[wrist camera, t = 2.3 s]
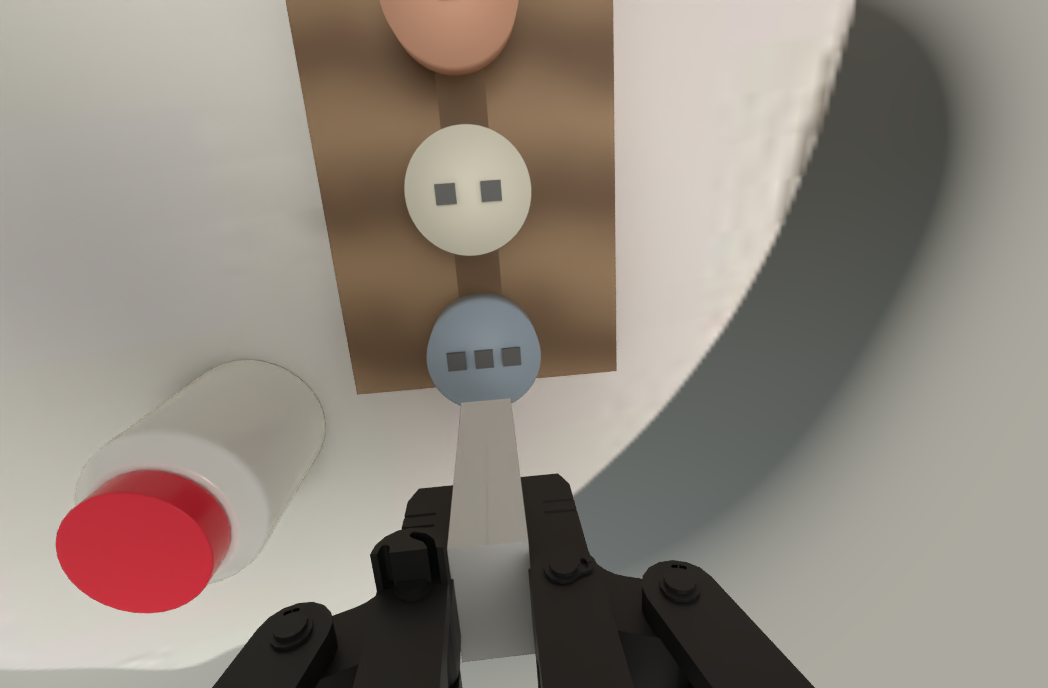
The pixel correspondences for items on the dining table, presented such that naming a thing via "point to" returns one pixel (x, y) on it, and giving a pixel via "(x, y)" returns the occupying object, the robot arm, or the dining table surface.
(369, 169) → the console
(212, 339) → the dining table surface
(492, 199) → the button
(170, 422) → the pill bottle
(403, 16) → the button
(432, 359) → the button
